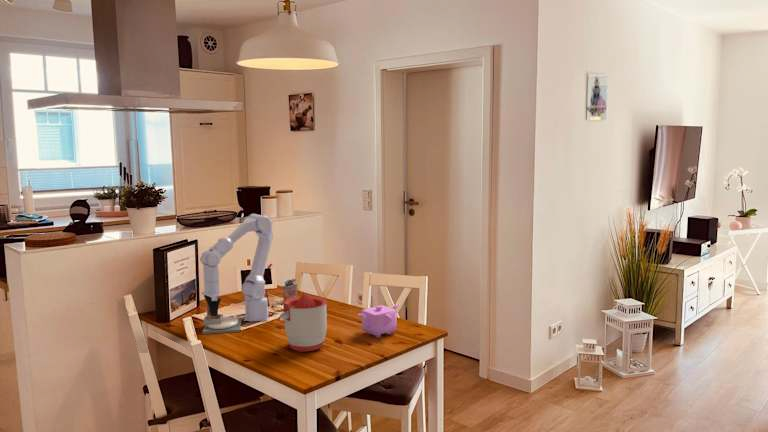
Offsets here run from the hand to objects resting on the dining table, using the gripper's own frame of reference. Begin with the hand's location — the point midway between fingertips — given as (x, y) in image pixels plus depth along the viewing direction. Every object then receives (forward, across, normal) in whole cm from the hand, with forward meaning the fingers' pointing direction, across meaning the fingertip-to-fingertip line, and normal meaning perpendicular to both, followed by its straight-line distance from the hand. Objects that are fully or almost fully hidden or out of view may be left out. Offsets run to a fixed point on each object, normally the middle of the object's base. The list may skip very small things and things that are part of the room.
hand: (213, 313), depth 240 cm
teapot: (+6, +34, +58) cm, 67 cm away
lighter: (+6, -26, +38) cm, 47 cm away
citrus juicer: (+6, +36, +27) cm, 46 cm away
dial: (+5, 0, +3) cm, 6 cm away
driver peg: (+3, 0, 0) cm, 3 cm away
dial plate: (+6, 0, +4) cm, 7 cm away
